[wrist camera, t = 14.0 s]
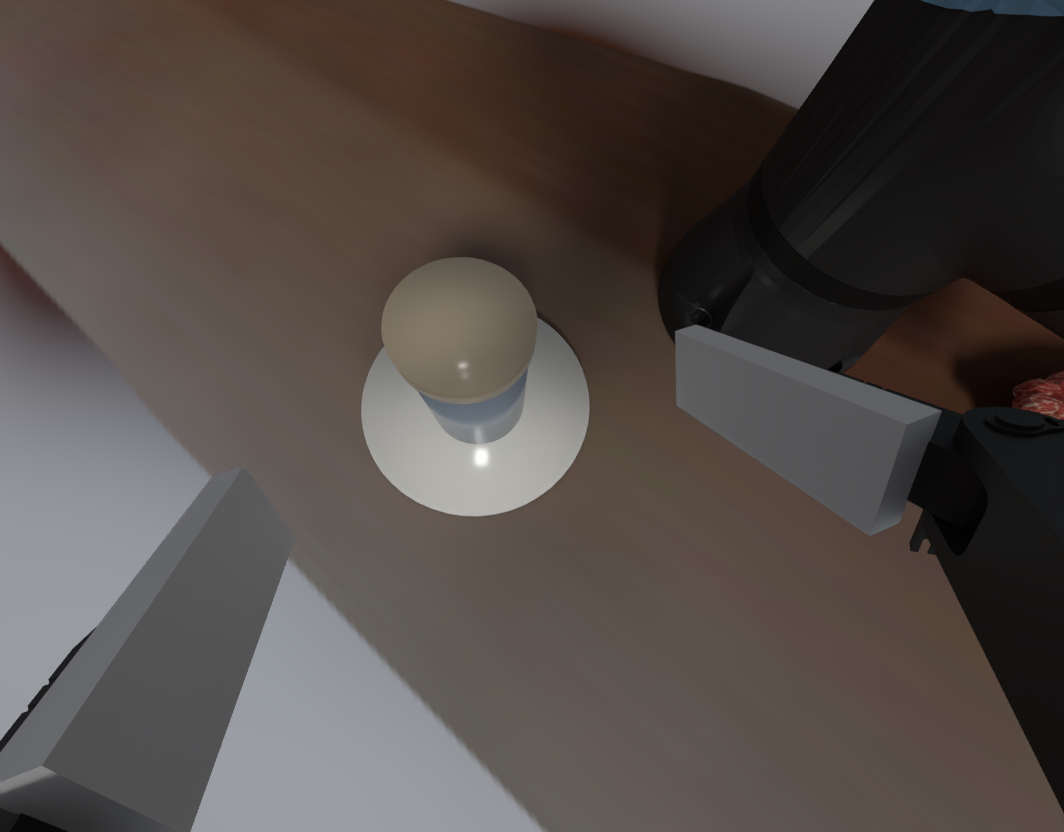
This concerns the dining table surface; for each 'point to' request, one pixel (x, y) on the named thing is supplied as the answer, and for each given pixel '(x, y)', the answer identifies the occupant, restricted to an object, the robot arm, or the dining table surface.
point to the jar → (463, 344)
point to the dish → (1042, 395)
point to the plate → (479, 469)
